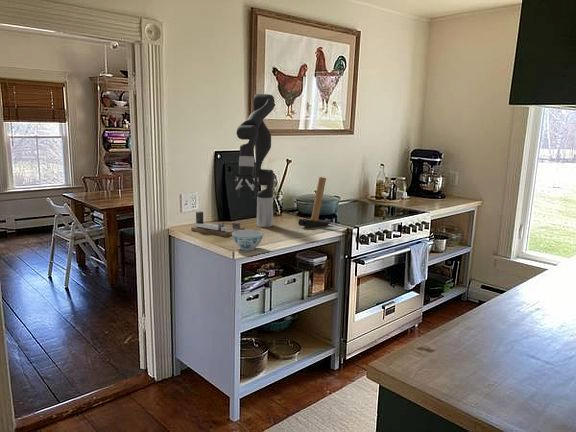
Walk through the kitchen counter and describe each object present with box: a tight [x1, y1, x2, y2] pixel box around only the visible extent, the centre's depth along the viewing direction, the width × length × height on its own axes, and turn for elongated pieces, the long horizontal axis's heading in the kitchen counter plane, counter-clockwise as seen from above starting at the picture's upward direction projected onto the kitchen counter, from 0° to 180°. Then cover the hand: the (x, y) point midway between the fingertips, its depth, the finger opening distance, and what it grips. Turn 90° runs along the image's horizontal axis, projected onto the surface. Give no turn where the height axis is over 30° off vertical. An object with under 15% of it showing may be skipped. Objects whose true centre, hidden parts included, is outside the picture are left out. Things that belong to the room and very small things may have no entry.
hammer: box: [298, 176, 332, 229], centre depth 268 cm, size 20×5×30 cm, turn 122°
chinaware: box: [231, 229, 264, 252], centre depth 216 cm, size 15×15×8 cm
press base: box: [190, 221, 246, 238], centre depth 252 cm, size 17×24×5 cm
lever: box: [195, 211, 226, 231], centre depth 246 cm, size 19×4×8 cm, turn 59°
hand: (245, 197), depth 230 cm, fingers open, 8 cm apart
